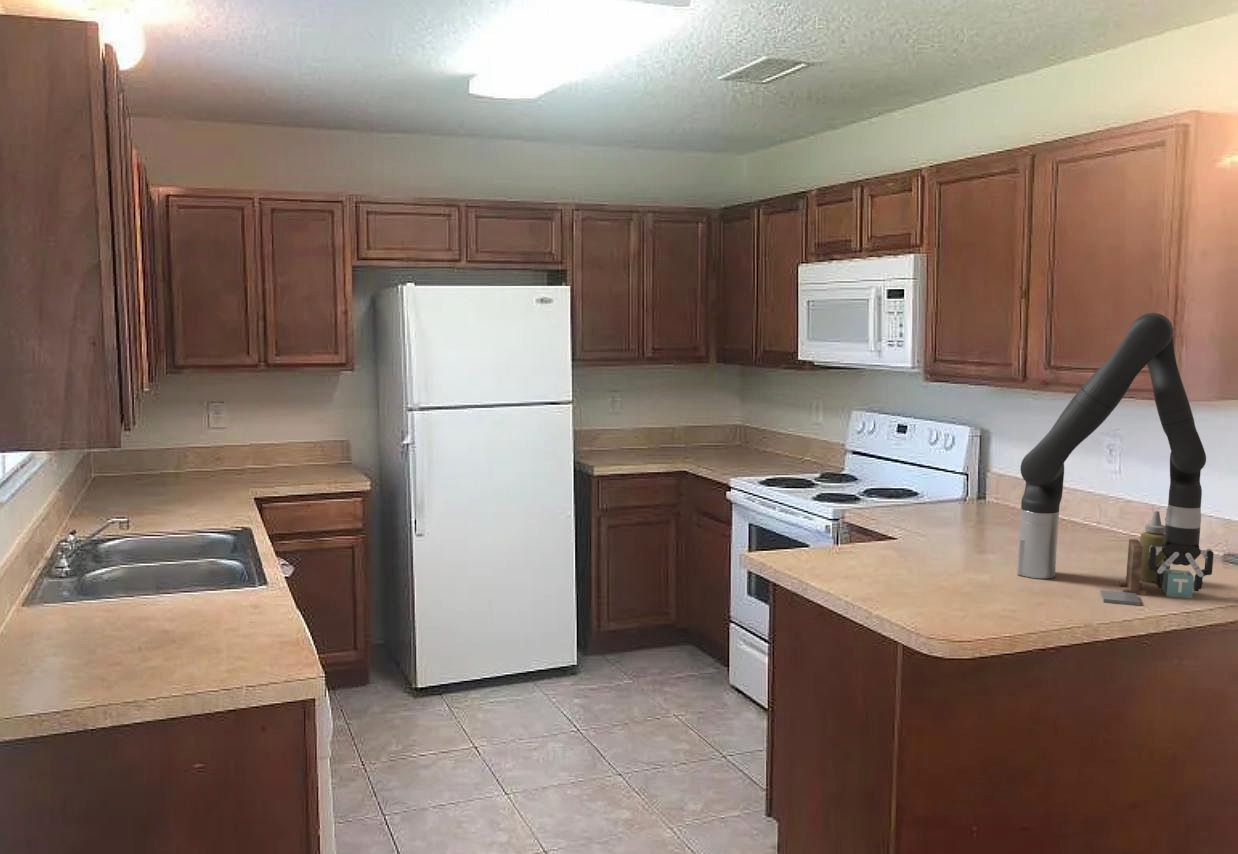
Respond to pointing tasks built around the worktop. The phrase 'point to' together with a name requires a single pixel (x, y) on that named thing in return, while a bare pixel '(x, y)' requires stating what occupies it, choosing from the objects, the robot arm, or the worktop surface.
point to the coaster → (1120, 597)
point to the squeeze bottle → (1152, 537)
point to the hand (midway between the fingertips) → (1178, 589)
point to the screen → (1133, 569)
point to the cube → (1178, 583)
